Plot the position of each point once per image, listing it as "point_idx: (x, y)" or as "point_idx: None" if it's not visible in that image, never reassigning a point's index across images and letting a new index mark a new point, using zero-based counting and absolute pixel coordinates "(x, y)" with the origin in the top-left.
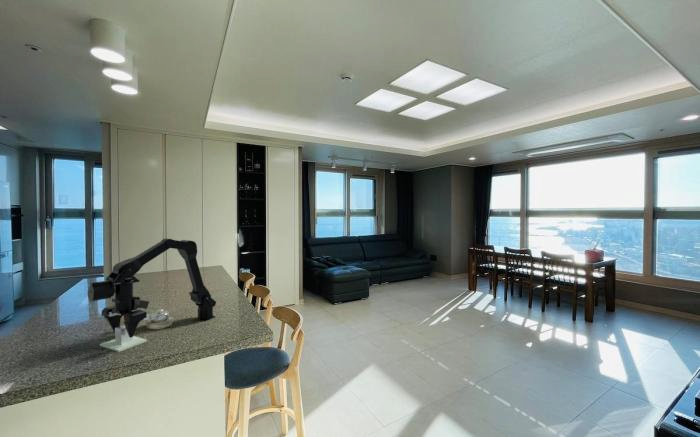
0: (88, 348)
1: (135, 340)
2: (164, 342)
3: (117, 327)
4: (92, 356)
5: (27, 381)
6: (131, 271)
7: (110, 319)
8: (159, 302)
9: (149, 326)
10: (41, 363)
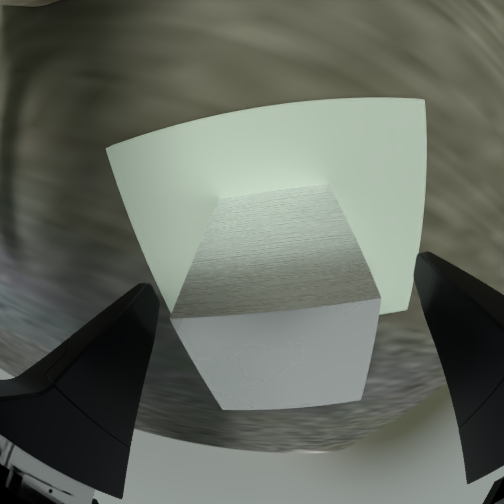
0: (173, 351)
1: (346, 166)
2: None
3: (245, 404)
4: None
5: (322, 443)
6: None
7: (116, 470)
8: None
9: None
10: (214, 425)
